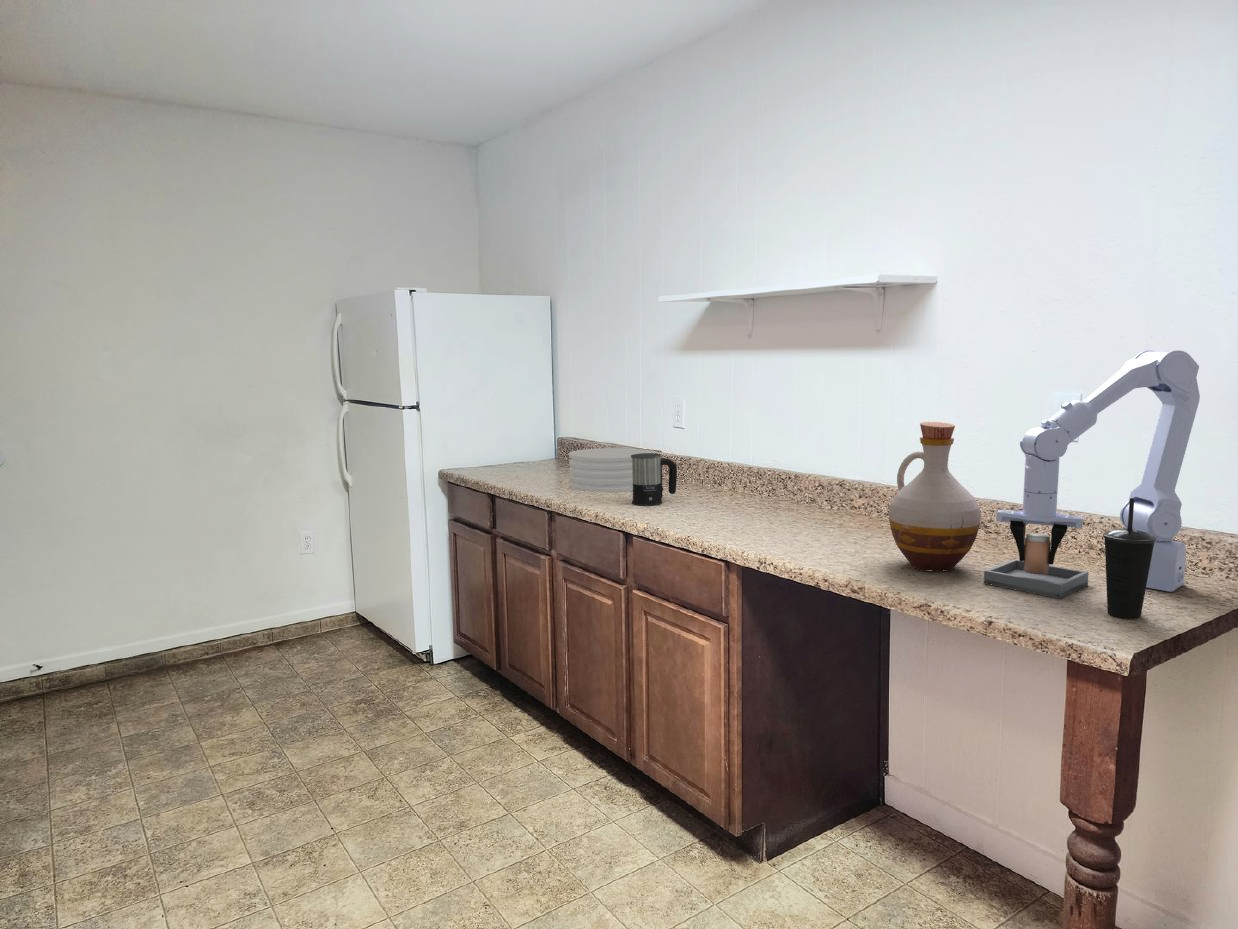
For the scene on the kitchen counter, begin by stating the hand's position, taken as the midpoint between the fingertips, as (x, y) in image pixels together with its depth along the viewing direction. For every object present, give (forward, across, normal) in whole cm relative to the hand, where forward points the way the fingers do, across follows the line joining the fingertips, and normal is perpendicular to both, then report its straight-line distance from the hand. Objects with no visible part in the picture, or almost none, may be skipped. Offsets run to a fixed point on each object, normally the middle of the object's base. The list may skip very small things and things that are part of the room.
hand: (1036, 561), depth 159 cm
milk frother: (+5, +110, -46) cm, 119 cm away
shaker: (+2, 0, 0) cm, 2 cm away
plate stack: (+5, +136, -67) cm, 152 cm away
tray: (+4, 0, 0) cm, 4 cm away
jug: (+5, +20, -5) cm, 22 cm away
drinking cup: (+5, -14, +14) cm, 20 cm away
